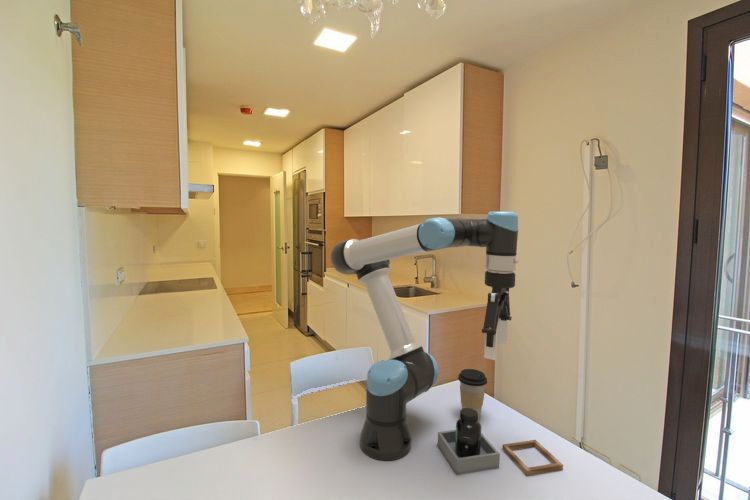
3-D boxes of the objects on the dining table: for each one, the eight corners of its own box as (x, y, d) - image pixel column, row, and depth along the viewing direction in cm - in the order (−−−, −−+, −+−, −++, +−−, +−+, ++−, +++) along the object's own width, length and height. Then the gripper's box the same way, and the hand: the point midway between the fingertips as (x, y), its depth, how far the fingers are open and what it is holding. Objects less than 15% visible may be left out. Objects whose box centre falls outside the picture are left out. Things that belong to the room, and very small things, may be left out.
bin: (437, 445, 104) (437, 432, 104) (475, 439, 107) (476, 427, 107) (456, 474, 92) (457, 460, 92) (499, 467, 95) (499, 453, 95)
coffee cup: (486, 426, 114) (489, 381, 113) (456, 422, 116) (458, 378, 114) (483, 411, 123) (485, 369, 122) (456, 407, 125) (457, 366, 124)
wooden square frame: (502, 449, 103) (502, 444, 102) (535, 444, 105) (535, 439, 105) (526, 476, 92) (527, 470, 92) (562, 470, 95) (563, 464, 94)
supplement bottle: (451, 454, 99) (452, 413, 98) (460, 442, 104) (461, 403, 103) (475, 464, 95) (477, 422, 94) (483, 451, 100) (485, 410, 99)
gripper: (505, 279, 80) (500, 370, 81) (523, 267, 101) (519, 339, 103) (471, 275, 83) (468, 362, 85) (496, 265, 105) (493, 335, 107)
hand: (496, 350), depth 94 cm, fingers open, 13 cm apart
